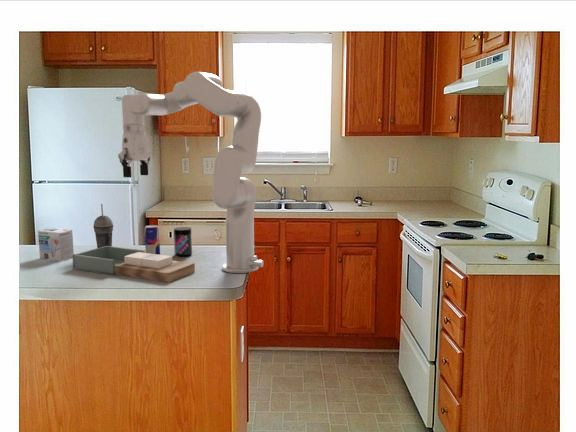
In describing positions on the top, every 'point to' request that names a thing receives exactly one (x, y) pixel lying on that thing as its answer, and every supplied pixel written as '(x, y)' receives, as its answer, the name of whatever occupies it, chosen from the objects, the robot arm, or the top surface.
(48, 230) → the light bulb box
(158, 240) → the energy drink
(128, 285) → the top surface
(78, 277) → the top surface
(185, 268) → the wooden cutting board
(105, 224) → the beverage cup
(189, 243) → the supplement container
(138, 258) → the tile
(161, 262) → the tile
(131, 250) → the box
